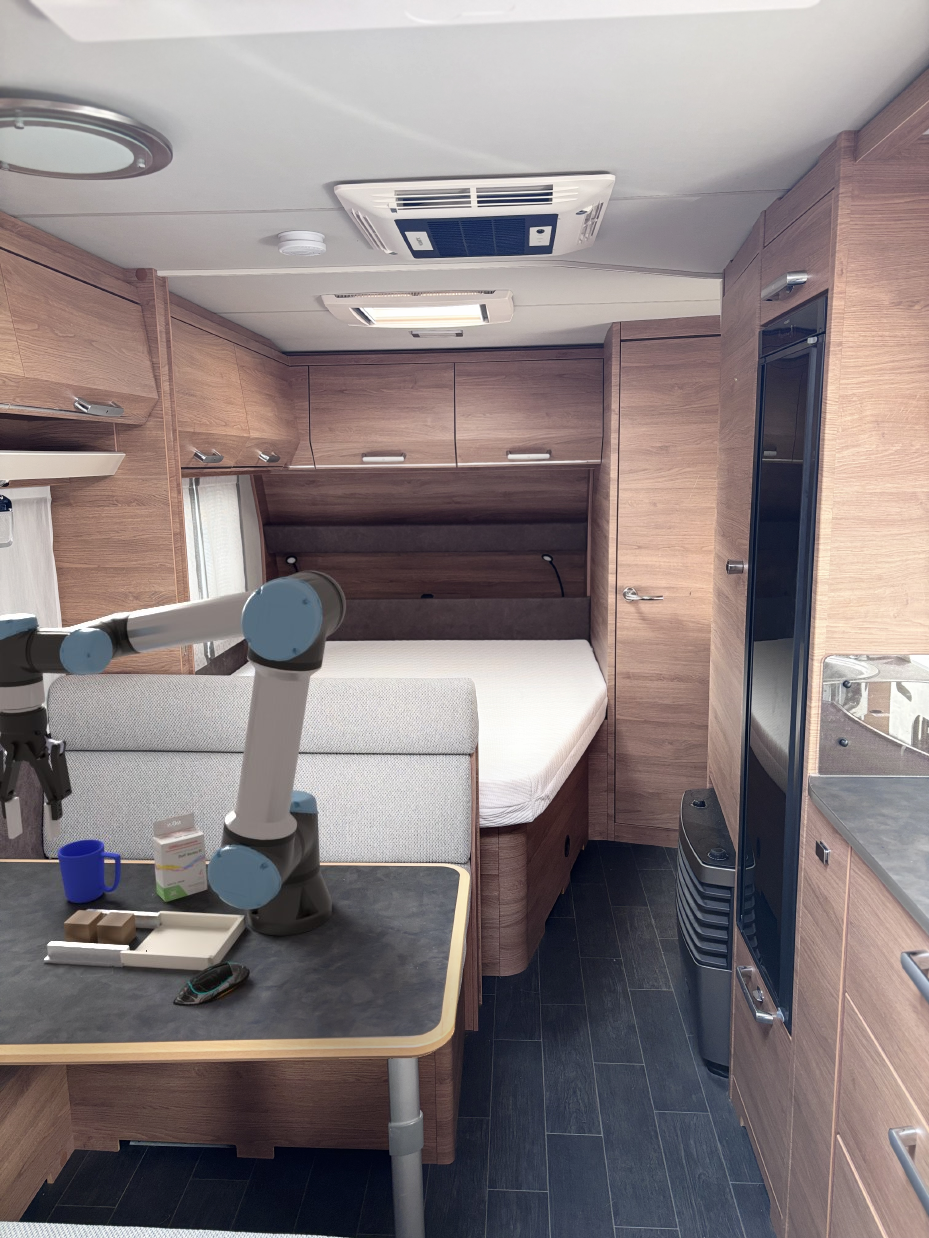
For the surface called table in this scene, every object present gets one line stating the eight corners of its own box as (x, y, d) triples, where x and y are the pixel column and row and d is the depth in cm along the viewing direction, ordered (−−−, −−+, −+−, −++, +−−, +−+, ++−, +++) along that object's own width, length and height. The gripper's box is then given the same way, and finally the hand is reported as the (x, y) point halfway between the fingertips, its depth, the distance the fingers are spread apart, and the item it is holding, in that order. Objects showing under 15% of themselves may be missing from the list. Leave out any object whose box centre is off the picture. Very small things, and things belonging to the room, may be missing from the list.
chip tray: (245, 927, 158) (245, 915, 157) (213, 971, 144) (212, 958, 144) (161, 923, 160) (160, 910, 159) (121, 965, 146) (120, 952, 146)
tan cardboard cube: (136, 936, 156) (134, 913, 155) (123, 950, 151) (121, 926, 150) (112, 935, 156) (110, 911, 155) (98, 949, 152) (96, 924, 151)
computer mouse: (167, 996, 138) (165, 971, 137) (243, 971, 144) (241, 947, 144) (178, 1016, 133) (176, 990, 132) (256, 989, 139) (255, 965, 139)
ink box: (164, 903, 167) (158, 829, 165) (156, 893, 171) (150, 821, 169) (209, 890, 172) (204, 818, 170) (199, 880, 176) (194, 810, 174)
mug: (110, 910, 165) (105, 860, 163) (52, 905, 167) (47, 855, 166) (135, 890, 173) (130, 841, 171) (79, 885, 175) (75, 837, 174)
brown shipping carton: (104, 935, 156) (102, 911, 156) (90, 948, 152) (88, 924, 151) (80, 933, 157) (78, 910, 156) (66, 947, 153) (63, 922, 152)
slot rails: (164, 922, 160) (163, 909, 160) (122, 967, 146) (121, 953, 145) (92, 918, 162) (91, 905, 162) (44, 962, 148) (42, 948, 147)
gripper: (87, 701, 151) (99, 829, 155) (-17, 699, 153) (-3, 825, 157) (62, 713, 143) (75, 847, 147) (-48, 711, 146) (-32, 843, 150)
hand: (34, 836), depth 152 cm, fingers open, 6 cm apart
